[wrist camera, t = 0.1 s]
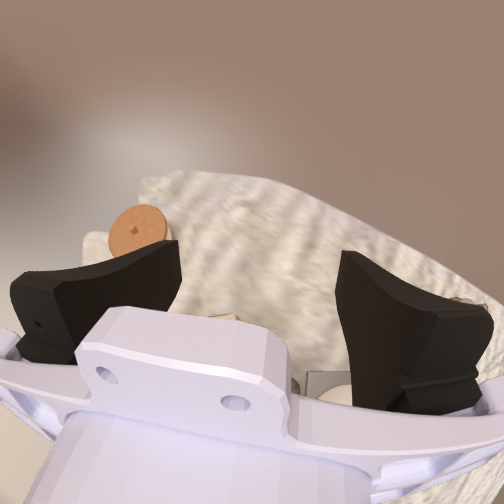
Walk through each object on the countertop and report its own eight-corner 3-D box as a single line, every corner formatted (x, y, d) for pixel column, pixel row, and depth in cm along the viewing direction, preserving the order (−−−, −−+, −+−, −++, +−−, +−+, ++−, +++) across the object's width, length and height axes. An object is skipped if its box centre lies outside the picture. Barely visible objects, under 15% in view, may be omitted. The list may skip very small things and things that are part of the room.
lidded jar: (133, 287, 46) (106, 269, 37) (124, 238, 50) (101, 213, 41) (186, 266, 47) (168, 243, 38) (173, 217, 51) (156, 189, 42)
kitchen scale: (387, 458, 31) (395, 463, 28) (296, 464, 32) (298, 471, 29) (398, 369, 37) (406, 368, 34) (307, 371, 38) (310, 371, 35)
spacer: (296, 403, 37) (298, 407, 33) (267, 401, 37) (266, 405, 33) (298, 376, 38) (301, 377, 35) (269, 374, 39) (269, 375, 35)
